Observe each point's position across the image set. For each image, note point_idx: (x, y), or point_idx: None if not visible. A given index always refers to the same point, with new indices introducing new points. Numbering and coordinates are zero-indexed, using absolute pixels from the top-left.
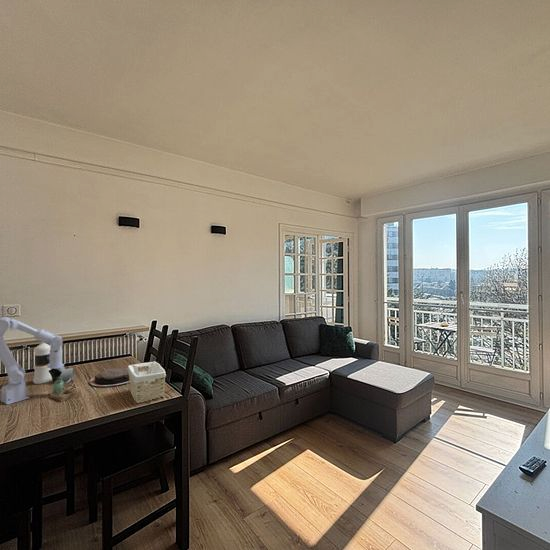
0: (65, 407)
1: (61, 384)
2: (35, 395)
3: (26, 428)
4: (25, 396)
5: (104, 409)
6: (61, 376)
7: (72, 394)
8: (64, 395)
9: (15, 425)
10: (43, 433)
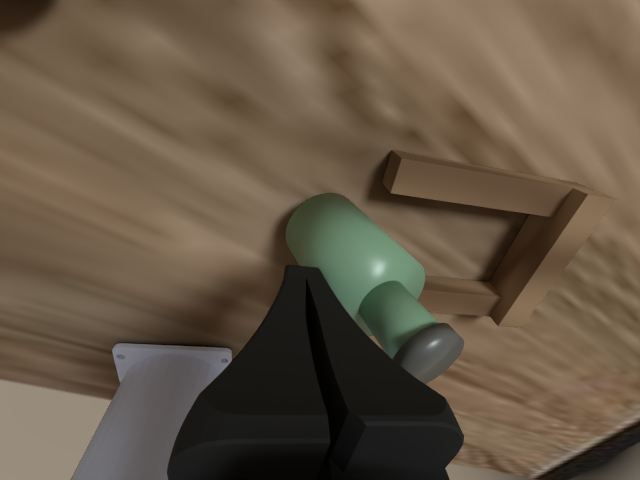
0: (574, 330)
1: (421, 285)
2: (204, 307)
3: (532, 445)
4: (202, 365)
5: None
6: (435, 346)
7: (562, 261)
8: (523, 306)
9: (476, 450)
10: (613, 437)
